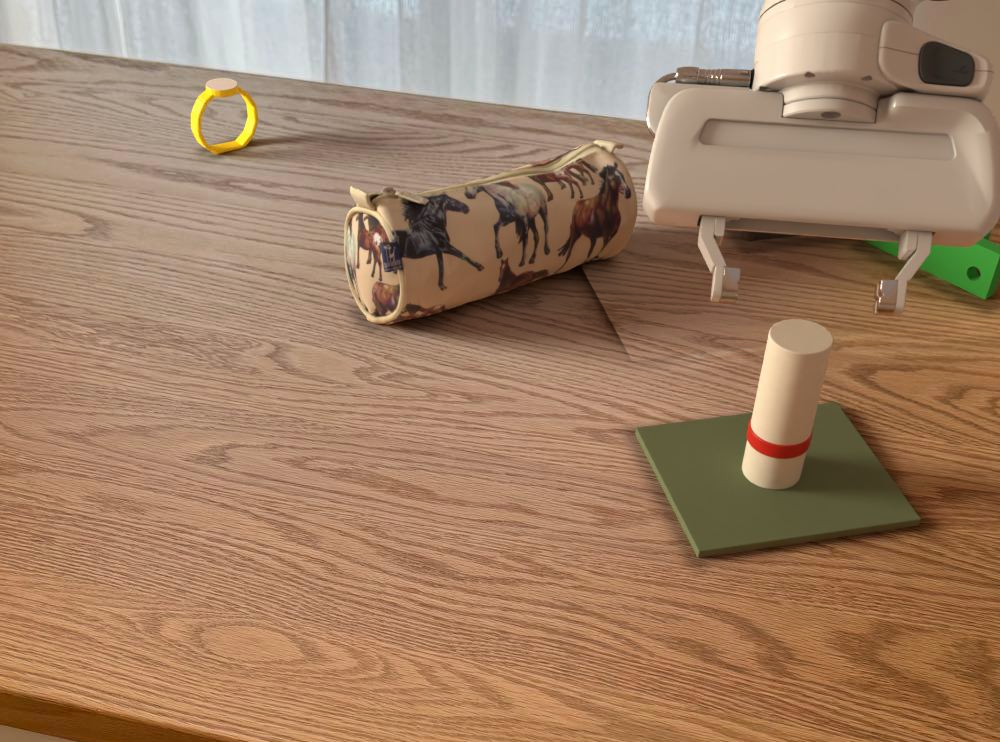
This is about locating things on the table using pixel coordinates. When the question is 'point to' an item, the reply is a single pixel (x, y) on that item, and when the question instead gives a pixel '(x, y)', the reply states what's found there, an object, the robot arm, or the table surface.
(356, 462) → the table surface
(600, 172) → the pencil case
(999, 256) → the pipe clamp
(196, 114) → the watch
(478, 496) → the table surface
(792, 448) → the red-banded cream cylinder
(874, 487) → the mat
